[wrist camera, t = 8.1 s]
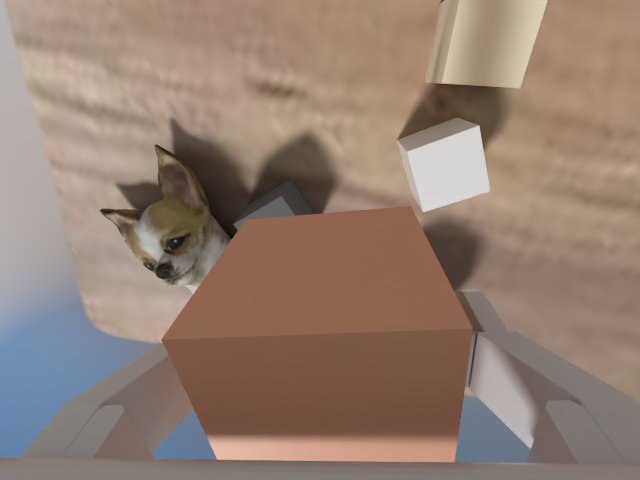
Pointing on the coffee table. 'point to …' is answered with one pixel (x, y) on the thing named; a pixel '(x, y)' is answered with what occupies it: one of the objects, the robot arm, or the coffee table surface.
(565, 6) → the coffee table surface
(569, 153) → the coffee table surface
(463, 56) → the birch cube
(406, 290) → the terracotta cube
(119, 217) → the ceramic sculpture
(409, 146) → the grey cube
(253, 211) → the black cube
